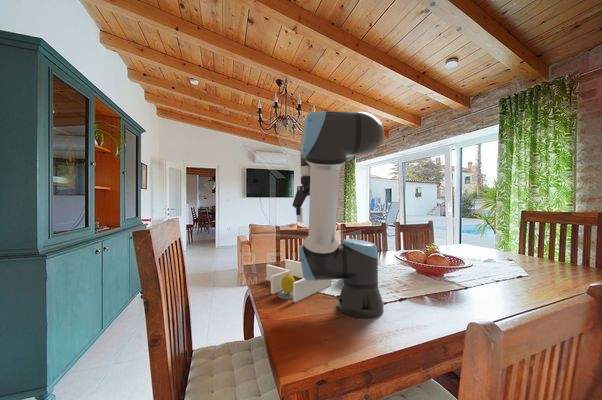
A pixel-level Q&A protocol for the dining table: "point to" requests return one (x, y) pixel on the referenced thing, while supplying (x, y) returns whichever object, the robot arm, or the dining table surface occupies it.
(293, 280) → the lemon
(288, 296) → the pad
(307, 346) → the dining table surface
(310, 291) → the bent lane
